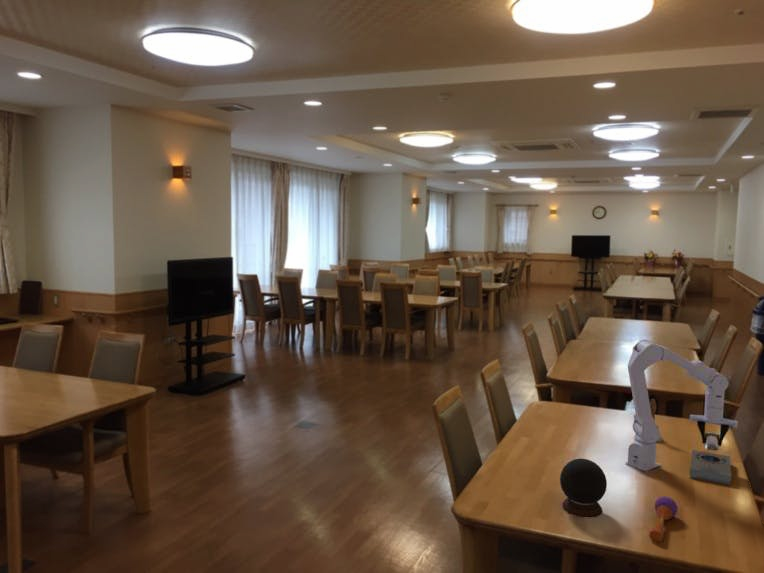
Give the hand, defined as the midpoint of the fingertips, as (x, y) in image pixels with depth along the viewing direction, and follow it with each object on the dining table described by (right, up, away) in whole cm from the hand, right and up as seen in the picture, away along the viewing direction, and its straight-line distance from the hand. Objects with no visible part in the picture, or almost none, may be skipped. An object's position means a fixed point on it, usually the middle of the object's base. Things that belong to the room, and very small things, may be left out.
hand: (711, 443), depth 209 cm
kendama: (-37, -13, -42) cm, 57 cm away
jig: (-2, -9, -3) cm, 9 cm away
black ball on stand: (-56, -11, -32) cm, 65 cm away
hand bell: (-8, -6, +30) cm, 31 cm away
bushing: (0, -2, 0) cm, 2 cm away
